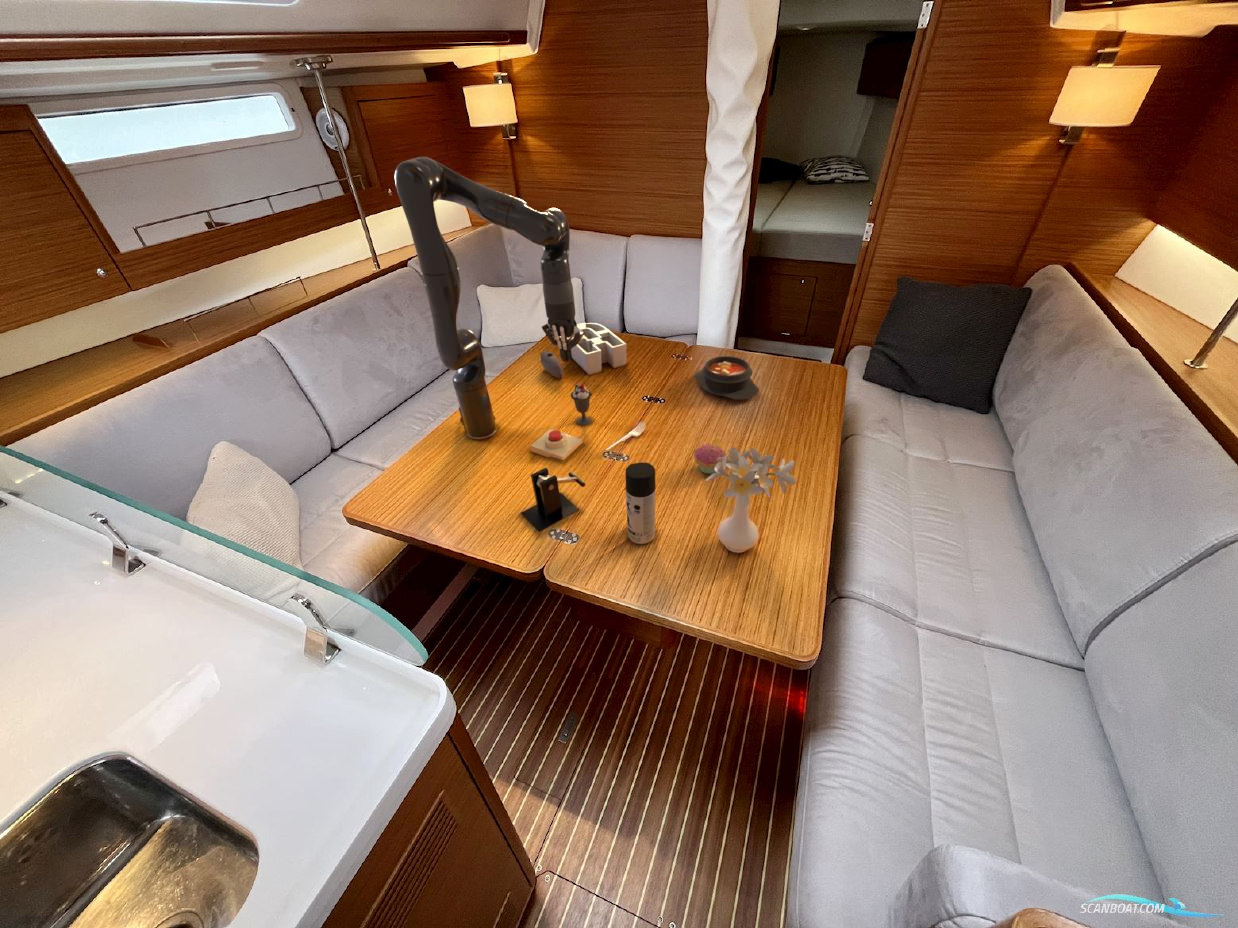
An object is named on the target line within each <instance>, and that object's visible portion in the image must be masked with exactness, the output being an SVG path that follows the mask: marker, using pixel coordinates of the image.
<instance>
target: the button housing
mask: <svg viewBox="0 0 1238 928" xmlns="http://www.w3.org/2000/svg"><path fill="white" fill-rule="evenodd" d="M551 431H554V429H551V428H550V429H549V430H547V431H546V432H545V433H544V434H543V435H541V436H540V437H538V438H537V440H535V441H534V442H533V443H532V444H530V445H529V446H530V447H529V448H530V451H531V452H532V453H535V454H537V455H540V456H543V457H546V458H550V457H553V458H554V459H558V460H560V461H564V460H565V459H566V458H568V457H569V456H570V454H572V453H573V452H574V451H575V450H576V449H578V447H580V445H581V444H583V438H579V437H576V436H573V435H571V434H567V433H565V432H564V431H560V432H561V437H562V439H561V440H559V441H557V442H552V441H550V439H549V433H550V432H551Z"/></svg>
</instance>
